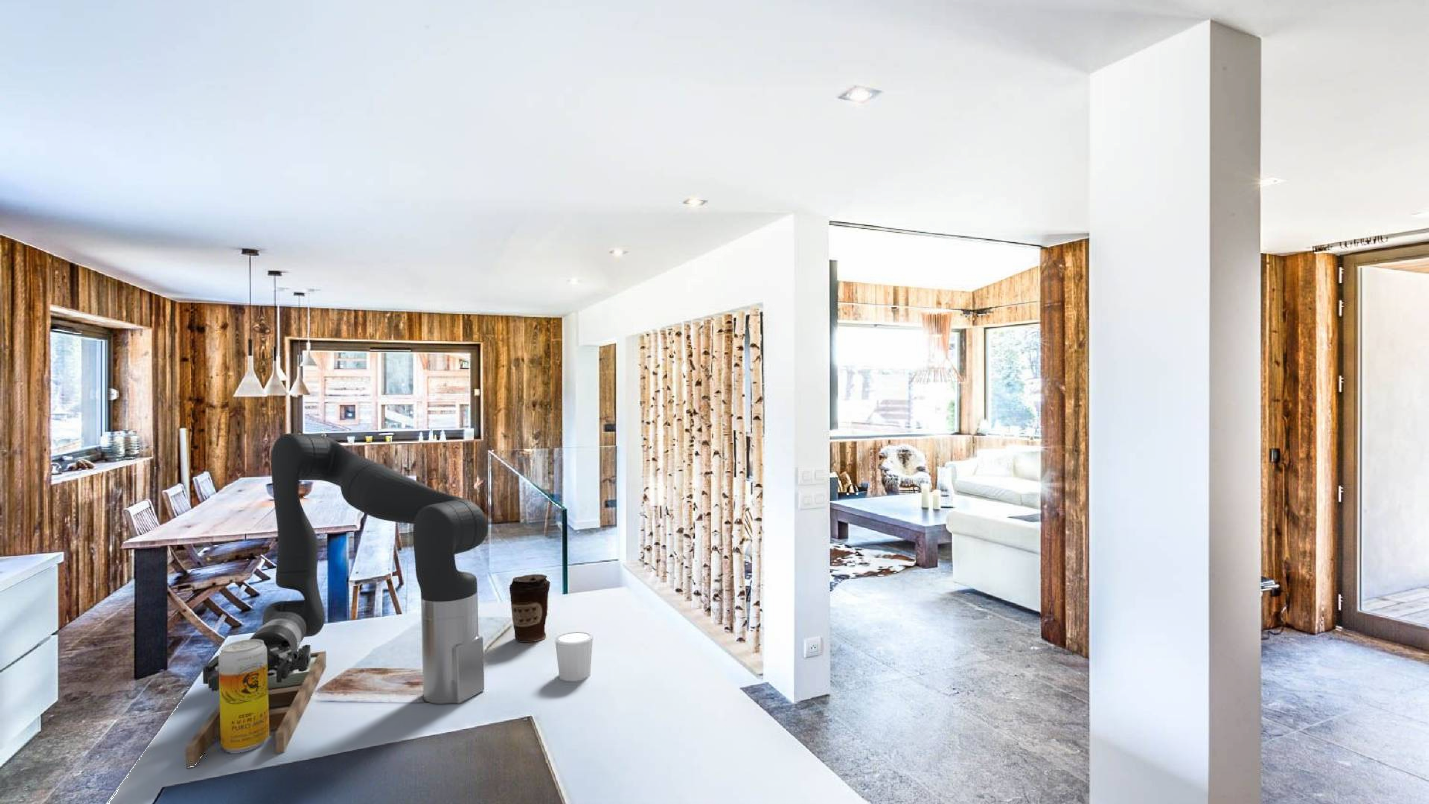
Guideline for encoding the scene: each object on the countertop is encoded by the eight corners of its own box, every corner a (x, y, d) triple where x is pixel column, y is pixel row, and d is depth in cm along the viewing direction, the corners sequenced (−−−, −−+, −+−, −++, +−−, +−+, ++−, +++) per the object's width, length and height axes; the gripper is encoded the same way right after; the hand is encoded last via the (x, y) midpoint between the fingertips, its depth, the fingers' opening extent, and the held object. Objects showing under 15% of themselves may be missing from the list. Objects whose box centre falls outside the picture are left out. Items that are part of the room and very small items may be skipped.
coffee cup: (545, 645, 149) (543, 582, 149) (505, 645, 149) (503, 583, 149) (555, 631, 158) (553, 572, 157) (517, 632, 158) (515, 572, 158)
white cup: (589, 682, 129) (589, 643, 129) (551, 682, 129) (550, 643, 129) (596, 667, 136) (596, 630, 136) (560, 668, 136) (559, 631, 136)
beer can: (233, 758, 104) (230, 655, 104) (213, 748, 107) (210, 647, 107) (277, 741, 109) (274, 642, 109) (256, 731, 112) (254, 635, 112)
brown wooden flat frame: (254, 676, 135) (253, 660, 135) (326, 666, 139) (325, 651, 139) (186, 768, 101) (185, 747, 101) (283, 752, 105) (283, 732, 105)
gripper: (224, 629, 123) (190, 662, 107) (318, 619, 127) (299, 649, 112) (225, 673, 123) (192, 712, 107) (320, 661, 127) (300, 697, 112)
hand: (247, 680), depth 110 cm, fingers open, 8 cm apart
